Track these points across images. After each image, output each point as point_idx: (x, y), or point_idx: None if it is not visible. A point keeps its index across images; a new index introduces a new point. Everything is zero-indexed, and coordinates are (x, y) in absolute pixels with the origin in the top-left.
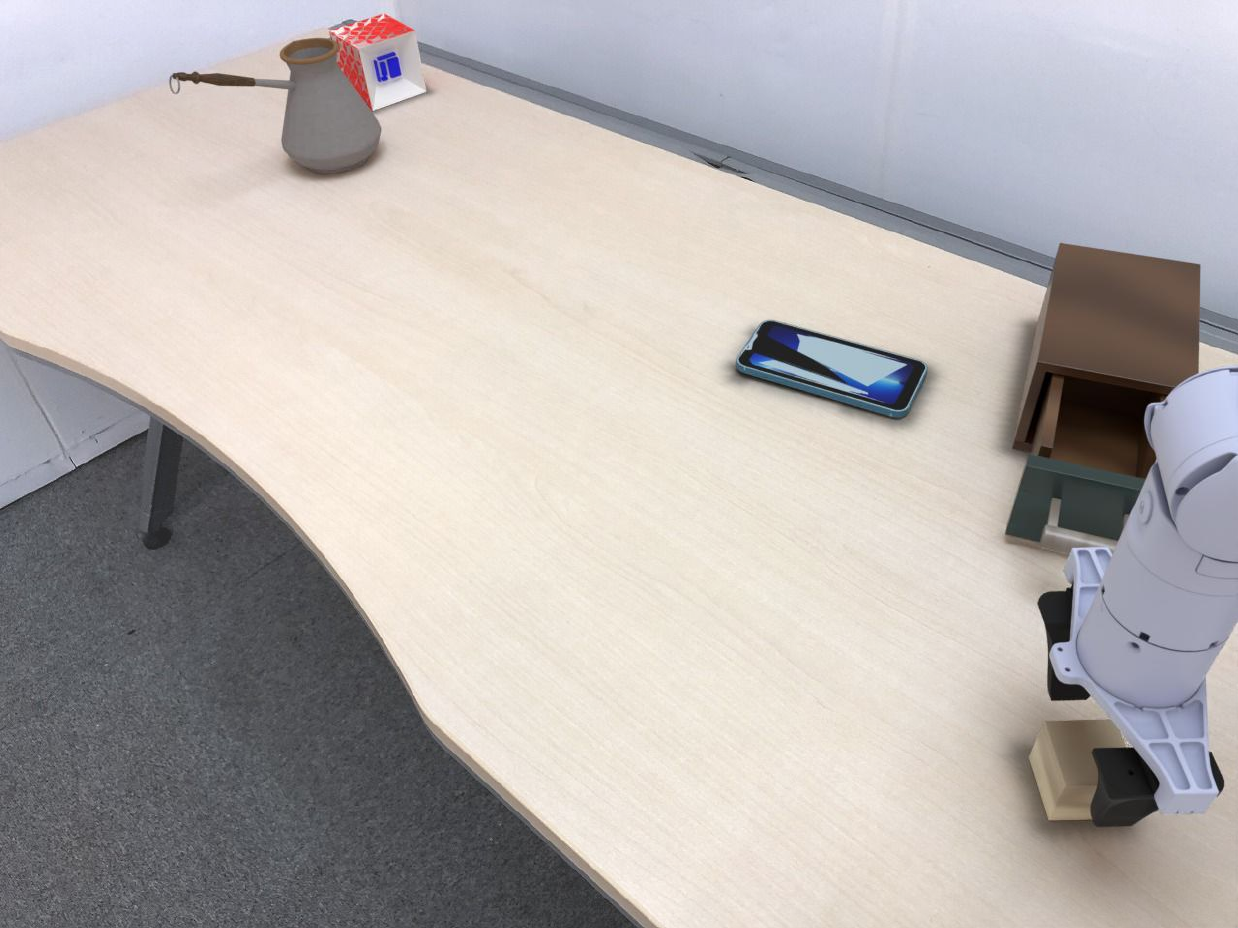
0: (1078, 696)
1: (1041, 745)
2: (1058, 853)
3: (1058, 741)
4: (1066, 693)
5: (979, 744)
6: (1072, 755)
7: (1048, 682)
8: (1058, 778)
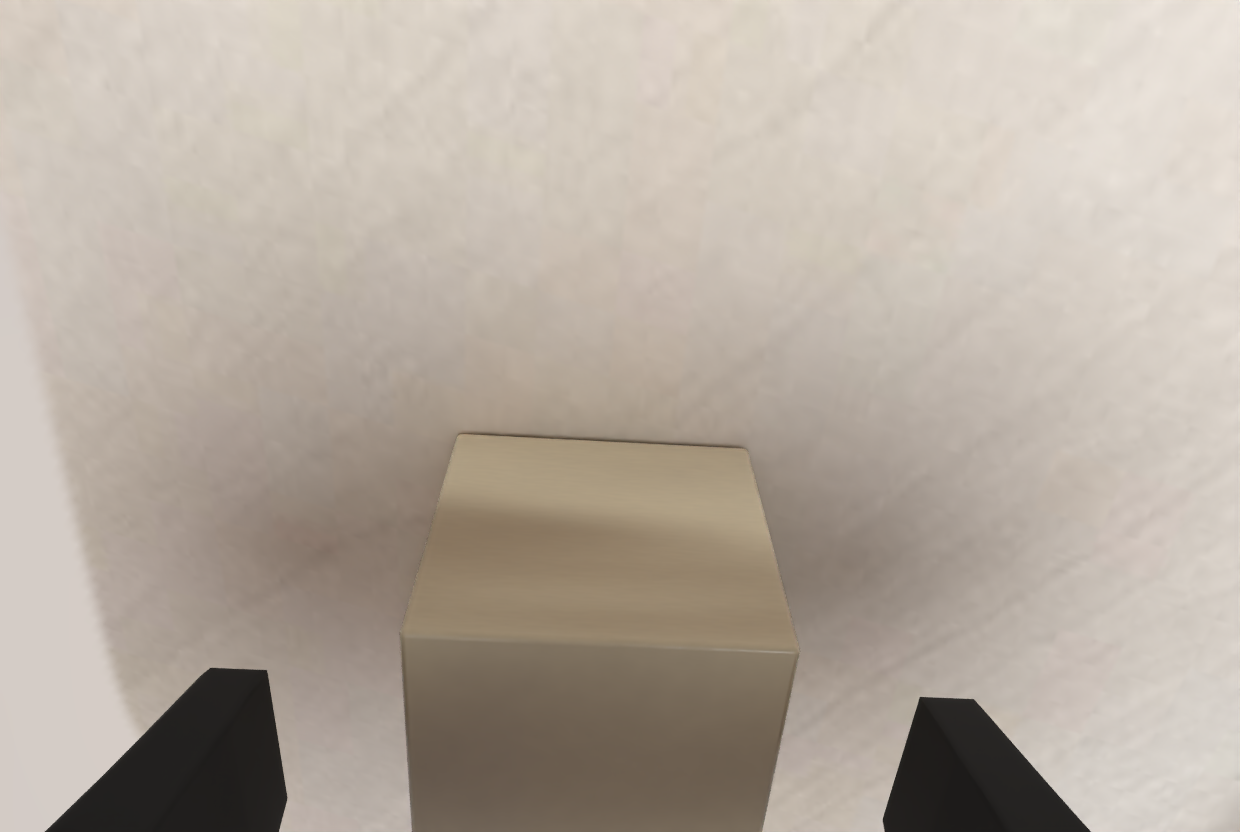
0: (900, 818)
1: (714, 557)
2: (316, 423)
3: (665, 673)
4: (925, 797)
5: (851, 268)
6: (574, 707)
7: (1010, 772)
8: (486, 592)
